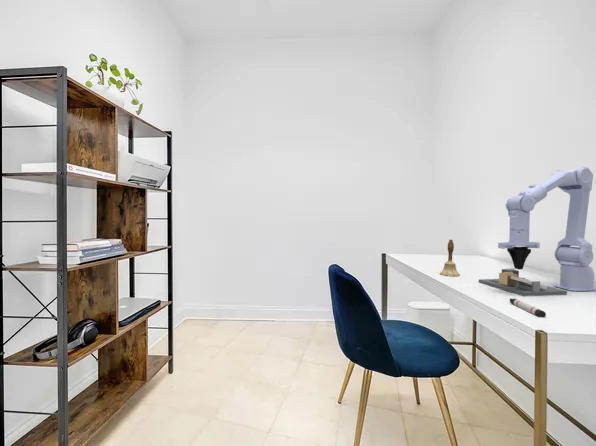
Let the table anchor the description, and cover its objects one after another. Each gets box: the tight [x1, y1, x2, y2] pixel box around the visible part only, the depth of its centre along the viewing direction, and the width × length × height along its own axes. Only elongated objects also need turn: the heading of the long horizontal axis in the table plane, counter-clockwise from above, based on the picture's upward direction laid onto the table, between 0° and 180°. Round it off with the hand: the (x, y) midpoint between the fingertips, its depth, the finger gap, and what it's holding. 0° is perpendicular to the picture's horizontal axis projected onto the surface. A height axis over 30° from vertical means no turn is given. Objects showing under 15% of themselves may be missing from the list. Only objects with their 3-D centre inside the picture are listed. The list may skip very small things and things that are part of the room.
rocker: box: [511, 276, 548, 290], centre depth 113 cm, size 10×5×1 cm, turn 98°
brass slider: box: [498, 272, 517, 286], centre depth 120 cm, size 4×4×5 cm
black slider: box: [501, 267, 520, 277], centre depth 128 cm, size 4×4×5 cm
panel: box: [478, 277, 568, 297], centre depth 121 cm, size 16×22×5 cm
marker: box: [509, 298, 547, 318], centre depth 94 cm, size 15×2×2 cm, turn 175°
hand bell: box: [439, 239, 461, 277], centre depth 147 cm, size 8×8×16 cm
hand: (518, 268), depth 113 cm, fingers closed
